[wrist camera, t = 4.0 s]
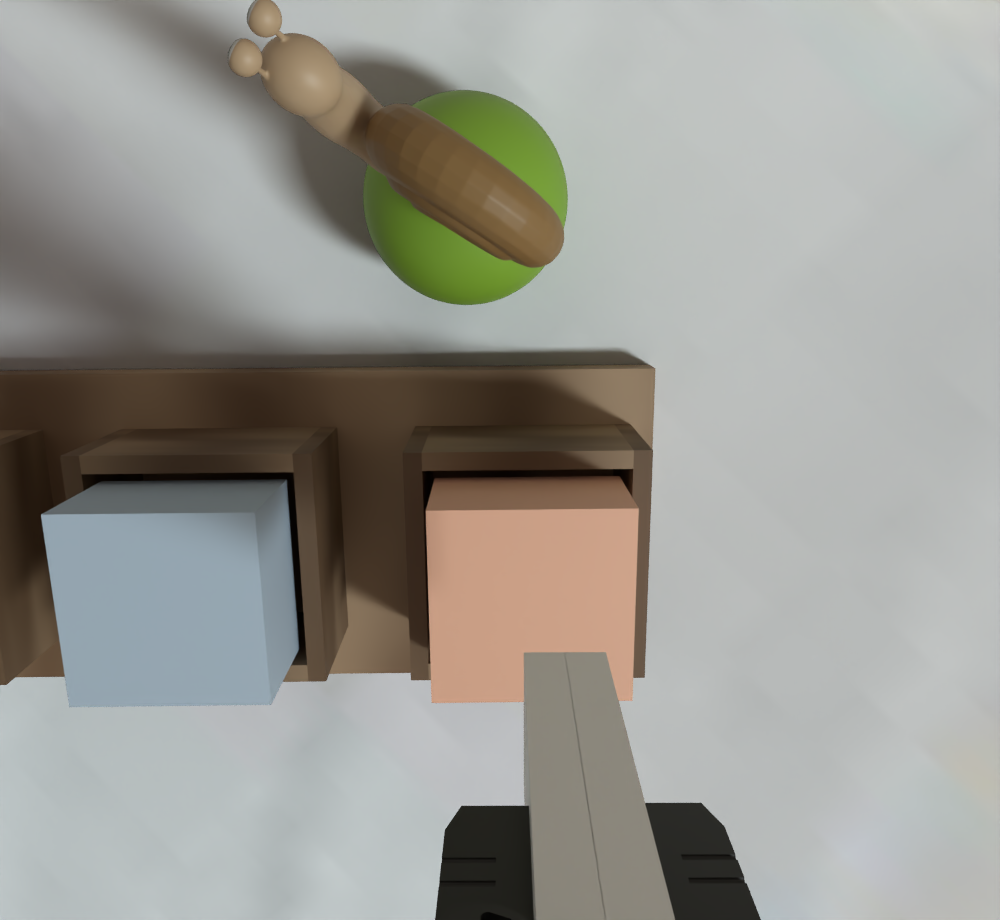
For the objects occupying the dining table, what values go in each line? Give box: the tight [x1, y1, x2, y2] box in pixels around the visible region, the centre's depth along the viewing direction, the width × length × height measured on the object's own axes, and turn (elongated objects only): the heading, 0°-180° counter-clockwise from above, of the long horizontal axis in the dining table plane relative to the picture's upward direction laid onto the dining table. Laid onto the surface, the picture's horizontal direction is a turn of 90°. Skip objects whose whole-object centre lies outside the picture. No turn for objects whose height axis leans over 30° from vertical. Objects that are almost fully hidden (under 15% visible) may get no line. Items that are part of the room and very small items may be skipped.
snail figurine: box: [228, 0, 568, 305], centre depth 18 cm, size 5×6×12 cm
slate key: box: [41, 479, 299, 707], centre depth 21 cm, size 5×5×3 cm
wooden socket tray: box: [0, 365, 655, 685], centre depth 24 cm, size 26×10×5 cm, turn 90°
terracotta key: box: [426, 476, 639, 703], centre depth 21 cm, size 5×5×3 cm
